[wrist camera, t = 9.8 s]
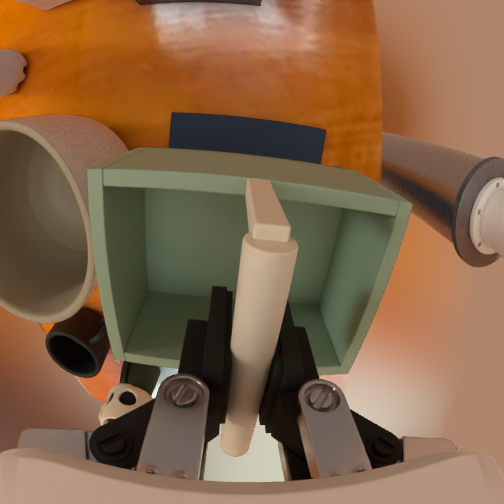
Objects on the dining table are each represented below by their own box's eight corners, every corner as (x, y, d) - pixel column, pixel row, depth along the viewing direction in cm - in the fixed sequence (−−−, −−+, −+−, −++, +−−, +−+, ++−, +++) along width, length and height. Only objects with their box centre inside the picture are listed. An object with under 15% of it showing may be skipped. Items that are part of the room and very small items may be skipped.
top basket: (357, 171, 17) (494, 262, 6) (322, 307, 21) (373, 448, 11) (138, 147, 15) (0, 215, 5) (141, 293, 20) (86, 437, 9)
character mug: (161, 344, 41) (143, 416, 29) (181, 374, 44) (170, 442, 32) (105, 353, 42) (80, 416, 30) (127, 381, 45) (109, 441, 33)
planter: (154, 102, 27) (84, 98, 13) (158, 250, 34) (116, 337, 21) (31, 120, 26) (-59, 142, 12) (46, 246, 33) (-19, 310, 19)
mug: (93, 353, 42) (79, 384, 35) (55, 315, 38) (35, 344, 32) (139, 327, 39) (126, 363, 33) (96, 282, 36) (75, 314, 29)
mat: (325, 129, 29) (326, 129, 28) (302, 248, 35) (303, 250, 34) (172, 112, 27) (171, 112, 27) (166, 235, 33) (165, 237, 33)
